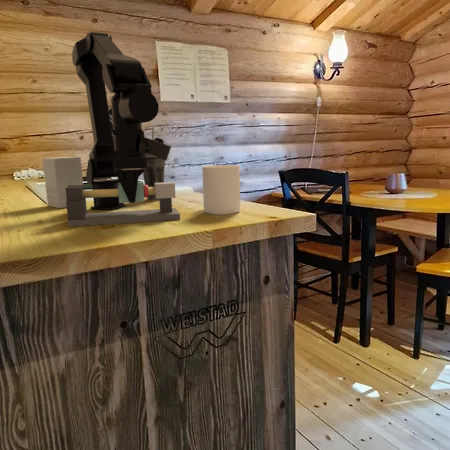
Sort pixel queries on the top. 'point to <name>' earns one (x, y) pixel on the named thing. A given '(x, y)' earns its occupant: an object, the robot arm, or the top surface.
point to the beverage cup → (153, 171)
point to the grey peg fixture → (82, 218)
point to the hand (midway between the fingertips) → (132, 201)
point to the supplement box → (61, 178)
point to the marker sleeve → (139, 193)
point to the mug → (221, 189)
